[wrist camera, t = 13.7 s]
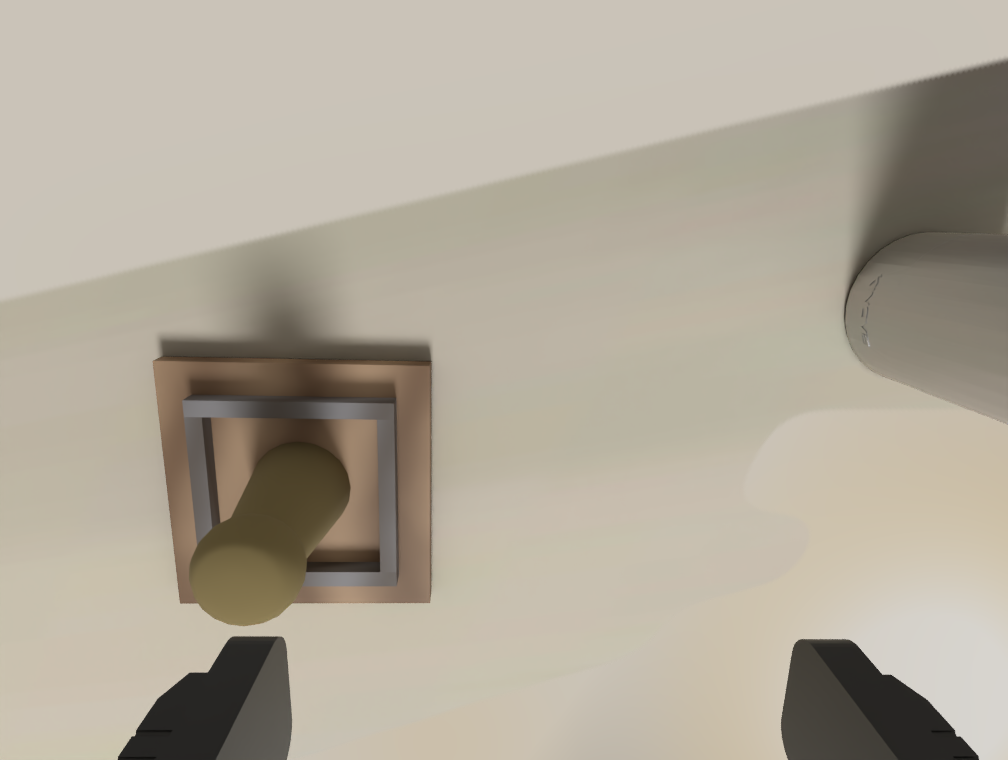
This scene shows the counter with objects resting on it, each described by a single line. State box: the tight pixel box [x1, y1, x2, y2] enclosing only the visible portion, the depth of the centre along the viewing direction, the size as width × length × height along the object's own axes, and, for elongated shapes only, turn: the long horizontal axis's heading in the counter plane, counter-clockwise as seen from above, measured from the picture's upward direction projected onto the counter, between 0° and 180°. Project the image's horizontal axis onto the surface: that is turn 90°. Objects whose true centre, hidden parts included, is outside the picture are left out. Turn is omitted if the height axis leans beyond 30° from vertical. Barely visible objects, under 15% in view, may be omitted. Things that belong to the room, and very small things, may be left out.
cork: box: [189, 442, 351, 626], centre depth 33 cm, size 6×6×11 cm
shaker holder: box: [153, 356, 431, 603], centre depth 39 cm, size 16×16×2 cm
